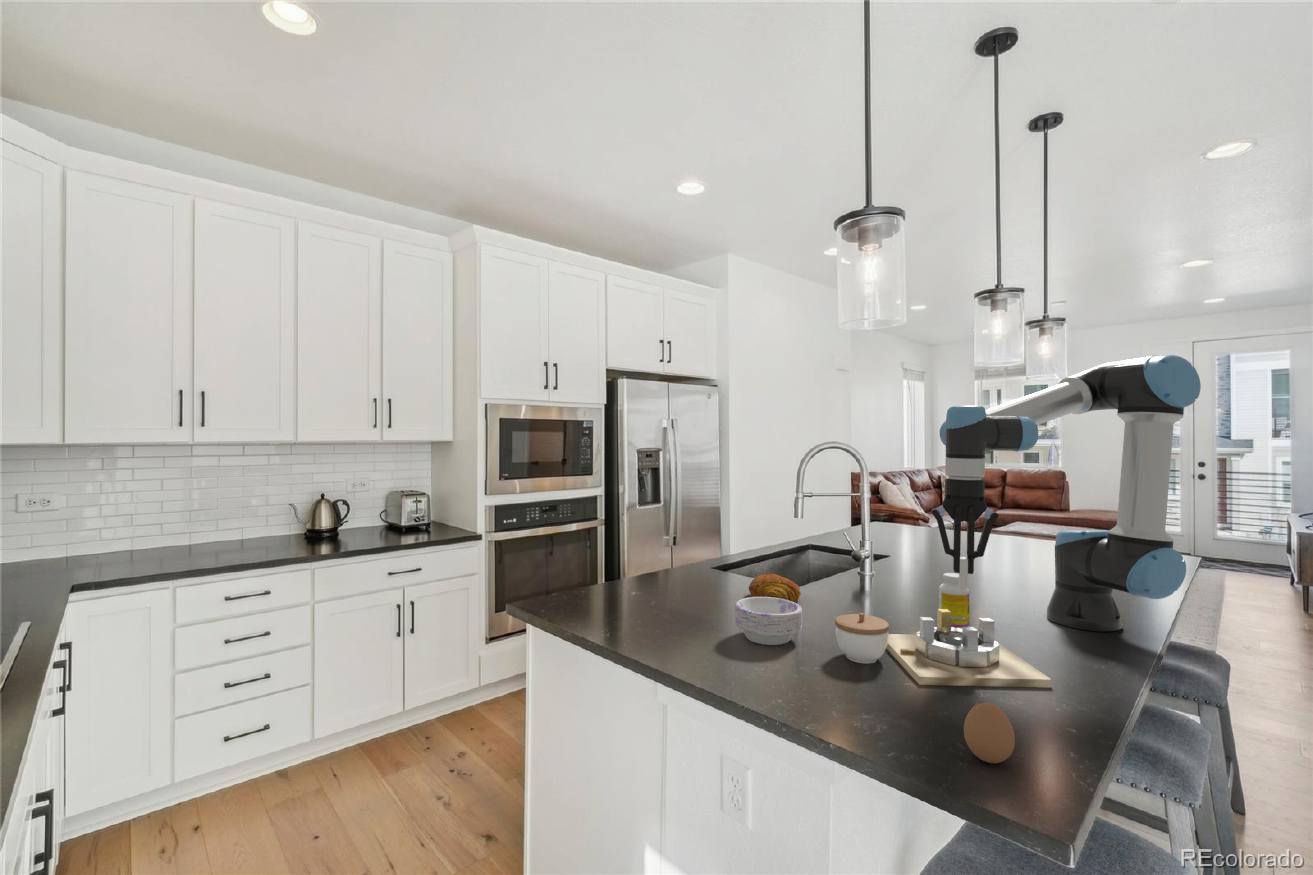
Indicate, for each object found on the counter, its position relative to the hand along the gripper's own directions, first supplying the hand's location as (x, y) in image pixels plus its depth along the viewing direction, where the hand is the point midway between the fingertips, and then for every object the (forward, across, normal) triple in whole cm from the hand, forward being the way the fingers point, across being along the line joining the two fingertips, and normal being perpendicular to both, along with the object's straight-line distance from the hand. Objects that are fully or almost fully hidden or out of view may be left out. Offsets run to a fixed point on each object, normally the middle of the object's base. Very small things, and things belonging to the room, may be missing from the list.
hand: (963, 588), depth 127 cm
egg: (+15, 0, +45) cm, 48 cm away
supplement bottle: (+14, 0, -18) cm, 23 cm away
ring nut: (+12, +1, +5) cm, 14 cm away
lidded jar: (+15, +20, +11) cm, 27 cm away
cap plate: (+14, +1, +5) cm, 15 cm away
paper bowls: (+15, +40, +7) cm, 43 cm away
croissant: (+15, +46, -26) cm, 55 cm away
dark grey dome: (+13, +1, +5) cm, 14 cm away
